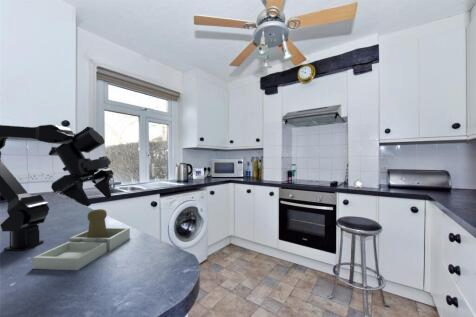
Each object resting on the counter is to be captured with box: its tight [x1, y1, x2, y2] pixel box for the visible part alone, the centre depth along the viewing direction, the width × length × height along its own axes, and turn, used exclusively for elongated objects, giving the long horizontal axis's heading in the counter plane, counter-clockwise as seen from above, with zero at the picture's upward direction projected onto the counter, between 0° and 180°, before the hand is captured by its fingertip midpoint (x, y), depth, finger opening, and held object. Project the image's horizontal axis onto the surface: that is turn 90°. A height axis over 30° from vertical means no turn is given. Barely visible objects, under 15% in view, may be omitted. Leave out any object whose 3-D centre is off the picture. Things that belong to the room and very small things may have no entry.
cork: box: [87, 208, 108, 238], centre depth 67 cm, size 6×6×11 cm
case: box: [68, 227, 131, 252], centre depth 66 cm, size 13×11×4 cm
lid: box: [32, 241, 108, 271], centre depth 56 cm, size 12×10×3 cm
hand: (100, 201), depth 65 cm, fingers open, 9 cm apart
